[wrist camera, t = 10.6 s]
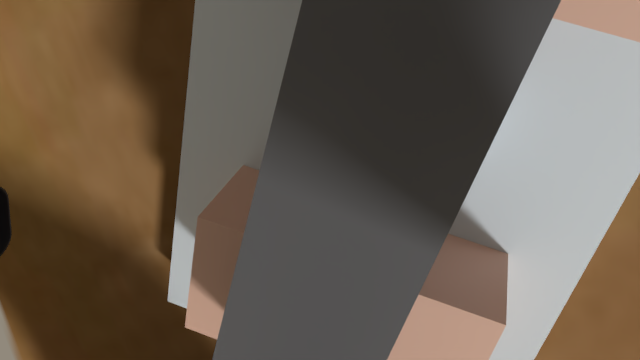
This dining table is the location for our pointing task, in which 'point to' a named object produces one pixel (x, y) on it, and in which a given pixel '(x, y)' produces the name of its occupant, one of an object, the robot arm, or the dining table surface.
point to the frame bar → (369, 168)
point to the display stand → (480, 203)
